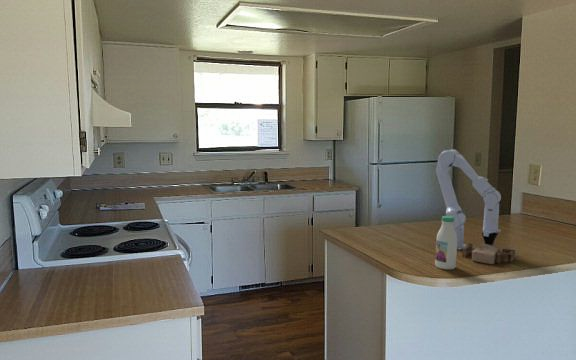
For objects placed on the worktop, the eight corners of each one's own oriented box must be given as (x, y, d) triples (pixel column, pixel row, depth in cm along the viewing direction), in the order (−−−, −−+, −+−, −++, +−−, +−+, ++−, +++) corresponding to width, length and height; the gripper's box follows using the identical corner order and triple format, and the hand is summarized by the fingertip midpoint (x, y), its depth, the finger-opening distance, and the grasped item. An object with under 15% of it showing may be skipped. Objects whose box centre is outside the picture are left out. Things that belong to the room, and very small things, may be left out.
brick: (479, 252, 195) (480, 241, 194) (500, 255, 190) (501, 245, 189) (470, 262, 181) (471, 251, 180) (493, 266, 176) (494, 254, 176)
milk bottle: (450, 263, 178) (453, 214, 175) (458, 270, 170) (462, 218, 168) (431, 263, 178) (434, 214, 175) (439, 270, 170) (442, 218, 168)
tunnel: (462, 256, 188) (462, 248, 187) (470, 250, 196) (470, 242, 196) (508, 265, 177) (509, 256, 176) (514, 258, 186) (515, 250, 185)
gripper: (497, 223, 183) (494, 254, 185) (504, 217, 195) (502, 247, 197) (479, 220, 188) (476, 251, 190) (487, 214, 199) (485, 244, 201)
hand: (488, 249), depth 193 cm, fingers closed
